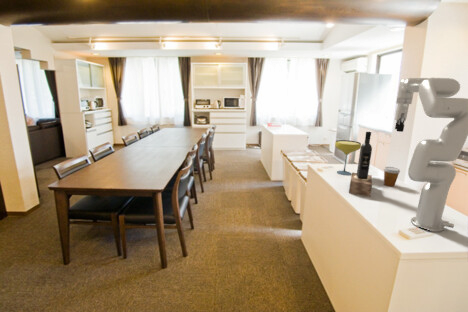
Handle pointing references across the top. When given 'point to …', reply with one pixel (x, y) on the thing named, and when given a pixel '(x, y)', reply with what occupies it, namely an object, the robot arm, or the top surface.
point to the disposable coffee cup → (390, 176)
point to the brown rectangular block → (360, 185)
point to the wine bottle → (364, 158)
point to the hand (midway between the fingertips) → (398, 130)
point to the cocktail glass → (347, 150)
